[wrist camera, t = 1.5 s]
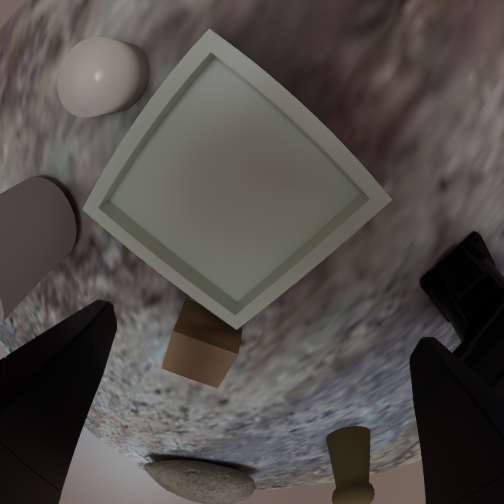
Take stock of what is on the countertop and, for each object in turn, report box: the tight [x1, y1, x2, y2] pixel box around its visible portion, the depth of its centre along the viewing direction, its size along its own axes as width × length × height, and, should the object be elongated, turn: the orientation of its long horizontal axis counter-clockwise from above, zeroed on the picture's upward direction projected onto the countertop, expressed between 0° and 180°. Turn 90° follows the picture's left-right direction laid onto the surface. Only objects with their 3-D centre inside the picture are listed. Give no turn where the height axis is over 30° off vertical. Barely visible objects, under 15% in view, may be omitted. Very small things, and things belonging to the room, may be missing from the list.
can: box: [0, 177, 77, 325], centre depth 17 cm, size 8×8×12 cm
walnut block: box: [162, 299, 243, 388], centre depth 24 cm, size 5×5×4 cm
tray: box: [82, 29, 392, 330], centre depth 19 cm, size 14×14×2 cm
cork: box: [326, 426, 375, 504], centre depth 29 cm, size 6×6×11 cm
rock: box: [144, 459, 255, 504], centre depth 41 cm, size 8×11×20 cm
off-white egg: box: [57, 37, 150, 118], centre depth 15 cm, size 5×5×4 cm
